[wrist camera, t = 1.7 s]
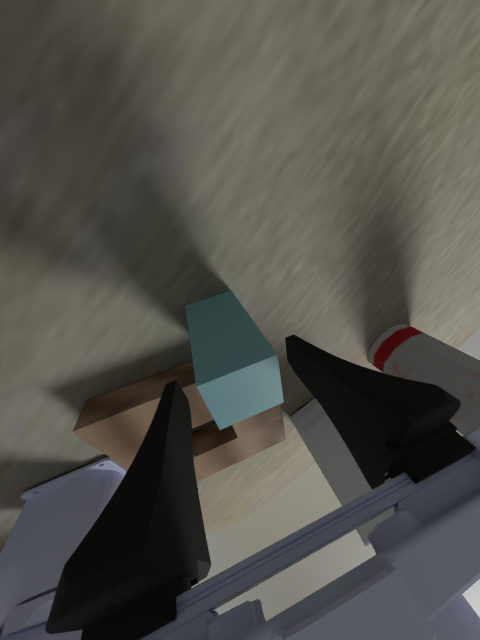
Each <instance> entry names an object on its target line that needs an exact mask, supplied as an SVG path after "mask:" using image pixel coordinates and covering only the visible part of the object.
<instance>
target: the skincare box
mask: <svg viewBox="0 0 480 640" xmlns="http://www.w3.org/2000/svg"><path fill="white" fill-rule="evenodd" d="M290 419H291V421H292V422H293V424H294V426H295V427H296V429H297V431H298V432H299V434H300V436H301V437H302V439H303V441H304V442H305V444H306V446H307V447H308V449H309V451H310V452H311V454H312V456H313V457H314V459H315V461H316V463H317V464H318V466H319V468H320V469H321V471H322V473H323V474H324V476H325V478H326V479H327V481H328V483H329V484H330V486H331V488H332V489H333V491H334V493H335V494H336V496H337V498H338V499H339V501H340V503H341V504H342V506H344V505H345V504H347V503H349V502H351V501H353V500H355V499H356V498H358V497H360V496H362V495H364V494H366V493H367V492H369V491H371V490H372V489H371V487H370V486H369V484H368V483H367V481H366V479H365V477H364V475H363V474H362V472H361V470H360V468H359V467H358V465H357V463H356V461H355V460H354V458H353V456H352V454H351V453H350V451H349V449H348V448H347V446H346V444H345V443H344V441H343V439H342V438H341V436H340V434H339V433H338V431H337V430H336V428H335V426H334V425H333V423H332V422H331V420H330V419H329V417H328V416H327V414H326V412H325V411H324V409H323V408H322V406H321V405H320V404H319V402H318V401H317V400H316V398H314V399H313V400H312V401H310V402H309V403H308V404H306V405H305V406H304V407H303V408H301V409H300V410H299V411H297V412H296V413H295V414H293V415H292V416H291V417H290ZM393 514H395V513H394V507H393V508H391V509H390V510H388V511H386V512H384V513H383V514H381V515H379V516H377V517H376V518H374V519H372V520H370V521H369V522H367V523H365V524H363V525H362V526H360V527H358V528H356V530H357V532H358V533H359V535H360V537H361V539H362V541H363V543H364V544H365V546H372V545H371V543H370V541H369V540H368V538H367V535H368V534H369V533H370V532H372V531H373V530H374V529H375V526H376V525H378V524H380V523H381V522H383V521H384V520H386V519H387V518H389V517H390V516H392V515H393Z"/></svg>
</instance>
